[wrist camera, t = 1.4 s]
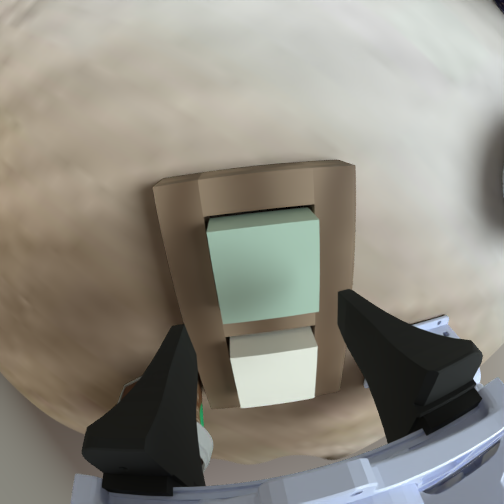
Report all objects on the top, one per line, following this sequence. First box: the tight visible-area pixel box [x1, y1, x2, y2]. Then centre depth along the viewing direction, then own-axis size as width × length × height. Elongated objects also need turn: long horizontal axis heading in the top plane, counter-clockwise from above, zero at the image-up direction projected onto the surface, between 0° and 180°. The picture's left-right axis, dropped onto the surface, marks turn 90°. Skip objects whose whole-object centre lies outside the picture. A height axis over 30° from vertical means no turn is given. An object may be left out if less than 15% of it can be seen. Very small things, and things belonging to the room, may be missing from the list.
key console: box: [152, 160, 356, 409], centre depth 22 cm, size 12×20×3 cm, turn 6°
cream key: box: [230, 326, 318, 408], centre depth 21 cm, size 6×6×2 cm
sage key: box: [207, 207, 320, 324], centre depth 18 cm, size 6×6×2 cm
